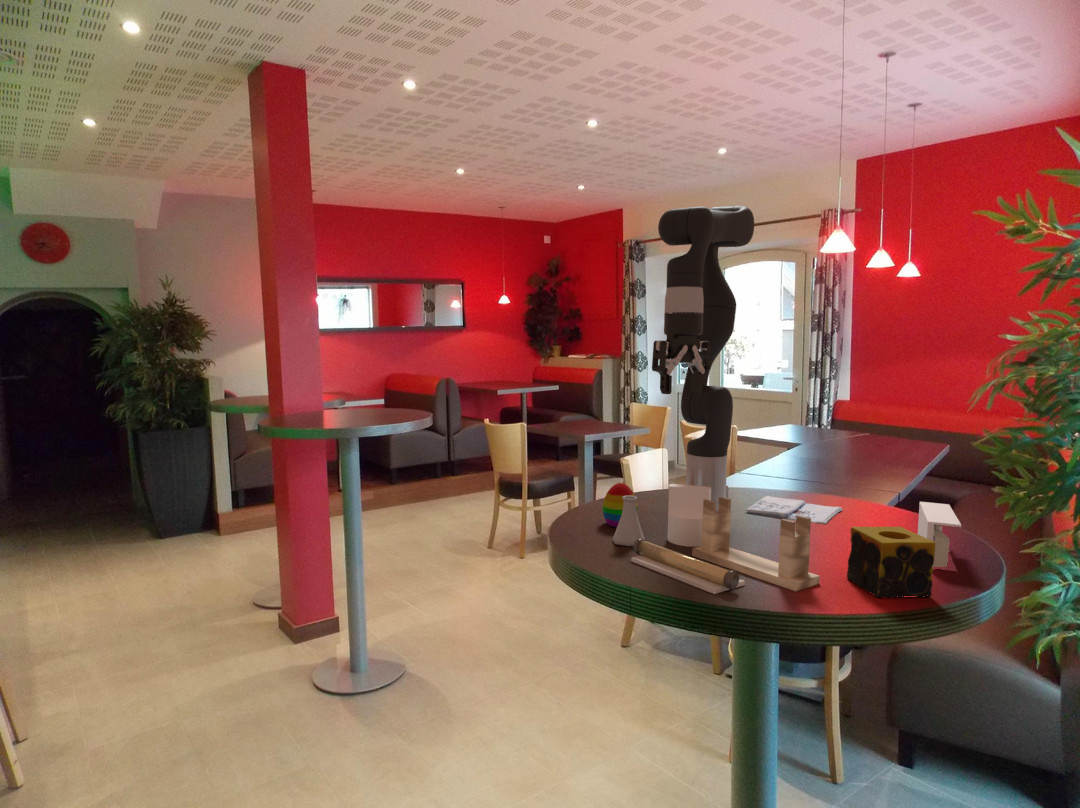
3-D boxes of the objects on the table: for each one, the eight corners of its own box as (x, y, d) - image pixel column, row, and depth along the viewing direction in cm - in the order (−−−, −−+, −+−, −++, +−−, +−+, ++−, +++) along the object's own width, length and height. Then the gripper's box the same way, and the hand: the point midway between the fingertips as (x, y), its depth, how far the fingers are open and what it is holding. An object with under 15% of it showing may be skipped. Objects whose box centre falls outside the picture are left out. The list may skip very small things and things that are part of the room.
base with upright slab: (711, 537, 153) (712, 484, 151) (707, 548, 144) (709, 492, 143) (670, 533, 155) (672, 481, 154) (664, 543, 147) (666, 489, 146)
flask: (644, 548, 144) (646, 501, 143) (610, 546, 145) (611, 499, 144) (646, 539, 151) (647, 494, 150) (613, 536, 152) (614, 492, 151)
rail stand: (715, 549, 143) (717, 494, 142) (819, 583, 123) (822, 519, 122) (692, 555, 139) (694, 498, 138) (795, 591, 119) (798, 525, 118)
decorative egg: (633, 520, 166) (635, 479, 165) (639, 529, 158) (640, 486, 157) (600, 519, 166) (601, 479, 165) (604, 529, 158) (605, 486, 157)
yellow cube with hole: (845, 579, 126) (848, 526, 126) (897, 578, 127) (900, 525, 126) (876, 599, 116) (880, 542, 115) (933, 598, 117) (936, 541, 116)
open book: (767, 501, 190) (767, 493, 190) (844, 512, 179) (845, 504, 179) (743, 514, 175) (743, 506, 175) (826, 528, 163) (827, 519, 163)
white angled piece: (958, 573, 130) (961, 525, 130) (924, 568, 133) (928, 521, 132) (945, 545, 149) (948, 503, 148) (916, 542, 151) (919, 500, 150)
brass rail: (637, 557, 138) (630, 546, 136) (647, 545, 139) (640, 535, 137) (731, 593, 118) (724, 581, 117) (741, 579, 120) (734, 567, 118)
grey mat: (660, 554, 139) (660, 550, 139) (744, 585, 122) (744, 580, 122) (631, 561, 135) (631, 557, 135) (714, 594, 118) (714, 589, 118)
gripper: (694, 313, 142) (691, 390, 143) (644, 310, 134) (642, 393, 135) (722, 312, 136) (719, 393, 137) (672, 309, 128) (669, 395, 129)
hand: (681, 393), depth 136 cm, fingers open, 8 cm apart
